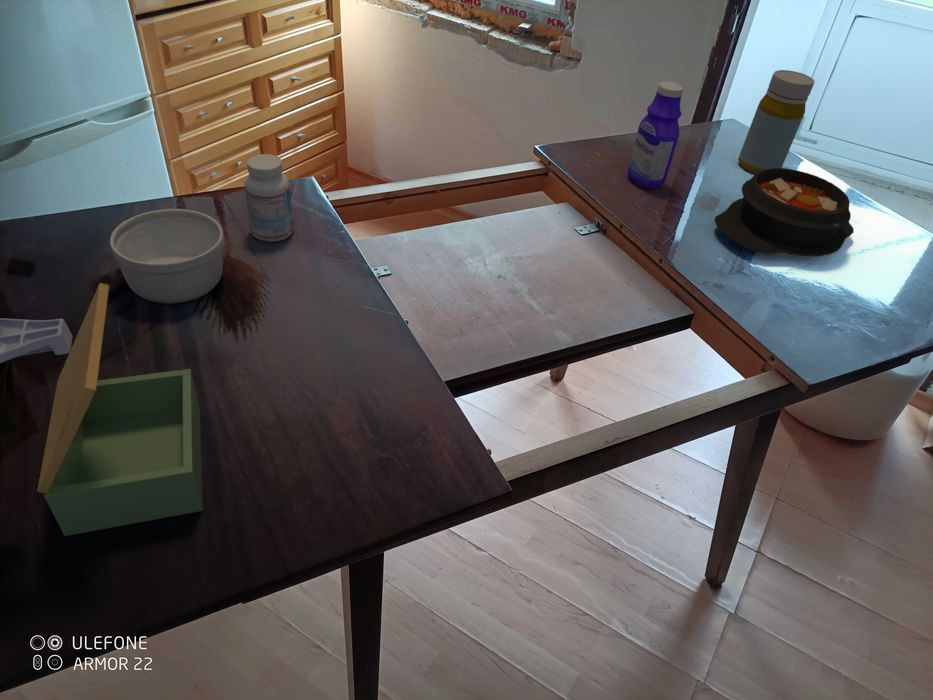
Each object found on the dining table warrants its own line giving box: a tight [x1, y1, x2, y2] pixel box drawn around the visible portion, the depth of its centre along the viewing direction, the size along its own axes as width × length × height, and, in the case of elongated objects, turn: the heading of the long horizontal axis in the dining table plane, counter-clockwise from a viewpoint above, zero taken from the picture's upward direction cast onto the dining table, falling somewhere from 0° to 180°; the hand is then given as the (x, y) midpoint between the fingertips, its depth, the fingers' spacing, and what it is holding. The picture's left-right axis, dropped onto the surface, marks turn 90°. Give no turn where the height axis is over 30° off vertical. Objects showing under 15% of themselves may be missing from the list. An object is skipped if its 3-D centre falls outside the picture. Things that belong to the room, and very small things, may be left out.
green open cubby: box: [43, 368, 204, 537], centre depth 65 cm, size 12×14×6 cm
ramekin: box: [109, 208, 225, 305], centre depth 88 cm, size 13×13×7 cm
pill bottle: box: [244, 153, 294, 243], centre depth 97 cm, size 6×6×11 cm
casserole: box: [714, 168, 854, 257], centre depth 111 cm, size 25×19×8 cm
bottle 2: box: [737, 69, 815, 175], centre depth 128 cm, size 8×8×17 cm
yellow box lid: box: [36, 282, 110, 494], centre depth 59 cm, size 12×14×1 cm
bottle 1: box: [627, 81, 684, 190], centre depth 119 cm, size 7×6×17 cm
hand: (11, 424), depth 56 cm, fingers closed
